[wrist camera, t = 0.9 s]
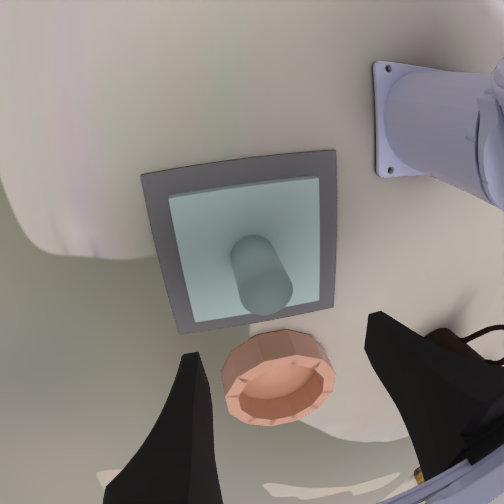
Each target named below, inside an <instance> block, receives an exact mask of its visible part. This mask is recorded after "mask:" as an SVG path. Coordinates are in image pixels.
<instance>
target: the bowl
mask: <svg viewBox="0 0 504 504" xmlns="http://www.w3.org/2000/svg"><path fill="white" fill-rule="evenodd" d="M221 371H222V378H223V385H224V392H225V398H226V402H227V406H228V409H229V413H230V414H231V415H233V416H235V417H236V418H238V419H240V420H241V421H243V422H244V423H246V424H254V425H264V426H273V425H278V424H283V423H287V422H292V421H296V420H298V419H300V418H302V417H304V416H306V415H307V414H309V413H311V412H313V411H314V410H316V409H318V408H319V407H320V406H321V405H322V404H323V403H324V402H325V400H326V399H327V398H328V397H329V396H330V395H331V393H332V392H333V390H334V383H335V375H336V373H335V371H334V369H333V367H332V365H331V363H330V361H329V359H328V357H327V355H326V353H325V351H324V349H323V348H322V347H321V346H320V345H319V343H318V342H317V341H316V340H315V339H314V338H313V336H312V335H309V334H304V333H300V332H296V331H292V330H287V329H285V330H280V331H275V332H270V333H265V334H259V335H256V336H254V337H253V338H251V339H250V340H248V341H246V342H245V343H243V344H242V345H240V346H238V347H237V348H235V349H234V350H232V352H231V353H230V355H229V357H228V359H227V361H226V362H225V365H224V366H223V368H222V370H221Z"/></svg>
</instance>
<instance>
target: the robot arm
mask: <svg viewBox="0 0 504 504" xmlns="http://www.w3.org/2000/svg"><path fill="white" fill-rule="evenodd" d="M386 66H387V67H388V68H389V71H388V72H387V71H386V69H385V67H386ZM373 74H374V89H375V111H376V173H377V175H378V176H380V177H382V178H388V177H402V176H418V175H430V176H432V177H435V178H437V179H439V180H441V181H444V182H446V183H448V184H450V185H453V186H455V187H457V188H459V189H461V190H463V191H465V192H468V193H470V194H472V195H474V196H476V197H478V198H480V199H482V200H484V201H486V202H488V203H490V204H492V205H494V206H496V207H498V208H499V209H501V210H503V211H504V57H503V58H502V59H501V60H500V61H499V63H498V64H497V66H496V68H495V70H494V71H493V72H492V74H489V73H473V72H449V71H444V70H439V69H433V68H428V67H422V66H416V65H410V64H403V63H395V62H387V61H376V62H375V63H374V65H373ZM389 167H391V171H390V172H389V173H388V168H389ZM364 349H365V351H366V354H367V356H368V358H369V361H370V363H371V365H372V367H373V369H374V370H375V372H376V374H377V375H378V377H379V379H380V380H381V382H382V383H383V385H384V387H385V388H386V390H387V391H388V393H389V395H390V396H391V398H392V399H393V401H394V403H395V404H396V406H397V408H398V410H399V412H400V414H401V416H402V419H403V421H404V423H405V425H406V428H407V430H408V433H409V435H410V437H411V440H412V443H413V446H414V448H415V451H416V454H417V457H418V460H419V464H420V467H421V471H422V475H423V479H424V483H422V484H420V485H418V486H416V487H414V488H412V489H409V490H407V491H405V492H403V493H401V494H399V495H396V496H394V497H392V498H389V499H387V500H384V501H382V502H380V503H377V504H418V503H420V502H422V501H424V500H426V499H428V498H430V497H431V498H430V499H428V500H427V501H426V503H425V504H488V503H489V502H491V501H492V500H494V499H495V498H496V497H498V496H499V495H500V494H501V493H503V492H504V367H502V366H496V365H492V364H487V363H483V362H480V361H476V360H473V359H470V358H467V357H464V356H461V355H459V354H456V353H454V352H452V351H449V350H447V349H445V348H443V347H441V346H439V345H437V344H435V343H433V342H431V341H429V340H428V339H426V338H424V337H422V336H421V335H419V334H417V333H416V332H414V331H412V330H411V329H409V328H407V327H406V326H404V325H403V324H401V323H400V322H398V321H396V320H395V319H393V318H392V317H390V316H389V315H387V314H385V313H384V312H382V311H378V312H375V313H371V314H369V316H368V324H367V332H366V339H365V346H364ZM212 411H213V410H212V401H211V394H210V387H209V383H208V380H207V377H206V374H205V370H204V368H203V365H202V361H201V358H200V355H199V352H194V353H188V354H184V355H183V356H182V357H181V361H180V365H179V368H178V372H177V375H176V378H175V381H174V383H173V386H172V389H171V391H170V394H169V396H168V398H167V401H166V403H165V405H164V407H163V409H162V412H161V414H160V416H159V418H158V420H157V421H156V423H155V425H154V427H153V428H152V430H151V432H150V434H149V435H148V437H147V438H146V440H145V442H144V443H143V445H142V446H141V447H140V449H139V450H138V451H137V453H136V454H135V455H134V457H133V458H132V459H131V460H130V461H129V463H128V464H127V465H126V466H125V468H124V469H123V470H122V471H121V472H120V473H119V474H118V475H117V476H116V477H115V478H114V479H113V480H112V481H111V482H110V483H109V484H108V485H107V486H106V489H105V494H104V498H103V504H223V500H222V496H221V491H220V485H219V480H218V475H217V468H216V462H215V454H214V435H213V412H212ZM434 495H435V496H434ZM432 496H433V497H432Z"/></svg>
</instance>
